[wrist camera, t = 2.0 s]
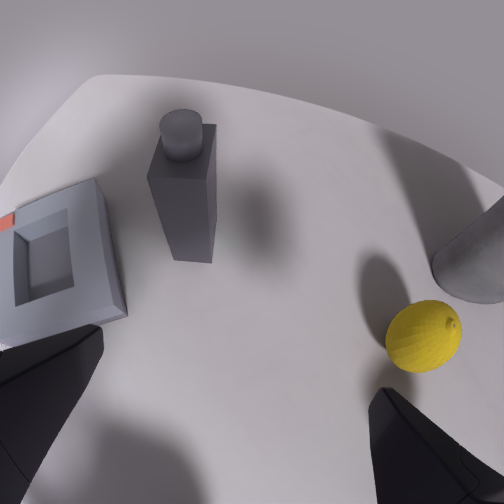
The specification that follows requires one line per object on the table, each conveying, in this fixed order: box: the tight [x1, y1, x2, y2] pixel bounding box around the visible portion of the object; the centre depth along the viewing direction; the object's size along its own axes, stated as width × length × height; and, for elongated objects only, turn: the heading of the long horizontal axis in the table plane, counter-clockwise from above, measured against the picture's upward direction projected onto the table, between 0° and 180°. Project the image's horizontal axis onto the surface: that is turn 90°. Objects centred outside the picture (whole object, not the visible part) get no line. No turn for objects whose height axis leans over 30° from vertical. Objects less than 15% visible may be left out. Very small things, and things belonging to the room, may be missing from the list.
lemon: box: [386, 300, 462, 373], centre depth 20 cm, size 6×6×8 cm
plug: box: [147, 109, 217, 263], centre depth 20 cm, size 4×3×13 cm
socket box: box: [0, 178, 128, 347], centre depth 21 cm, size 12×12×4 cm
